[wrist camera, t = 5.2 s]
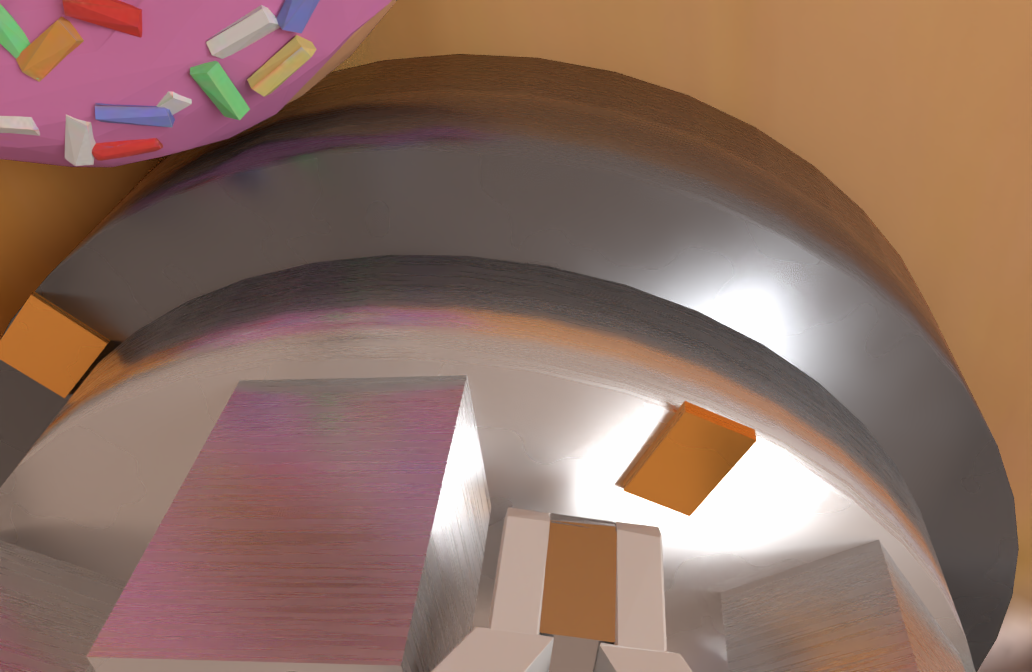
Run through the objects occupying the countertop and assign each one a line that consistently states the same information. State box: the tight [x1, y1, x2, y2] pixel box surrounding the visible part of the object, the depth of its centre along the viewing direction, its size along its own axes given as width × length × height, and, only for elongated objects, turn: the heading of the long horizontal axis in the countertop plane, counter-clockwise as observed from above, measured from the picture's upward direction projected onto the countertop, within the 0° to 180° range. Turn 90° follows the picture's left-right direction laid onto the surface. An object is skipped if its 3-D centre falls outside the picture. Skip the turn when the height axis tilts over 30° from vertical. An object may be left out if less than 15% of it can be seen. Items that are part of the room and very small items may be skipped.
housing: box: [0, 54, 1018, 672], centre depth 20 cm, size 21×21×4 cm
